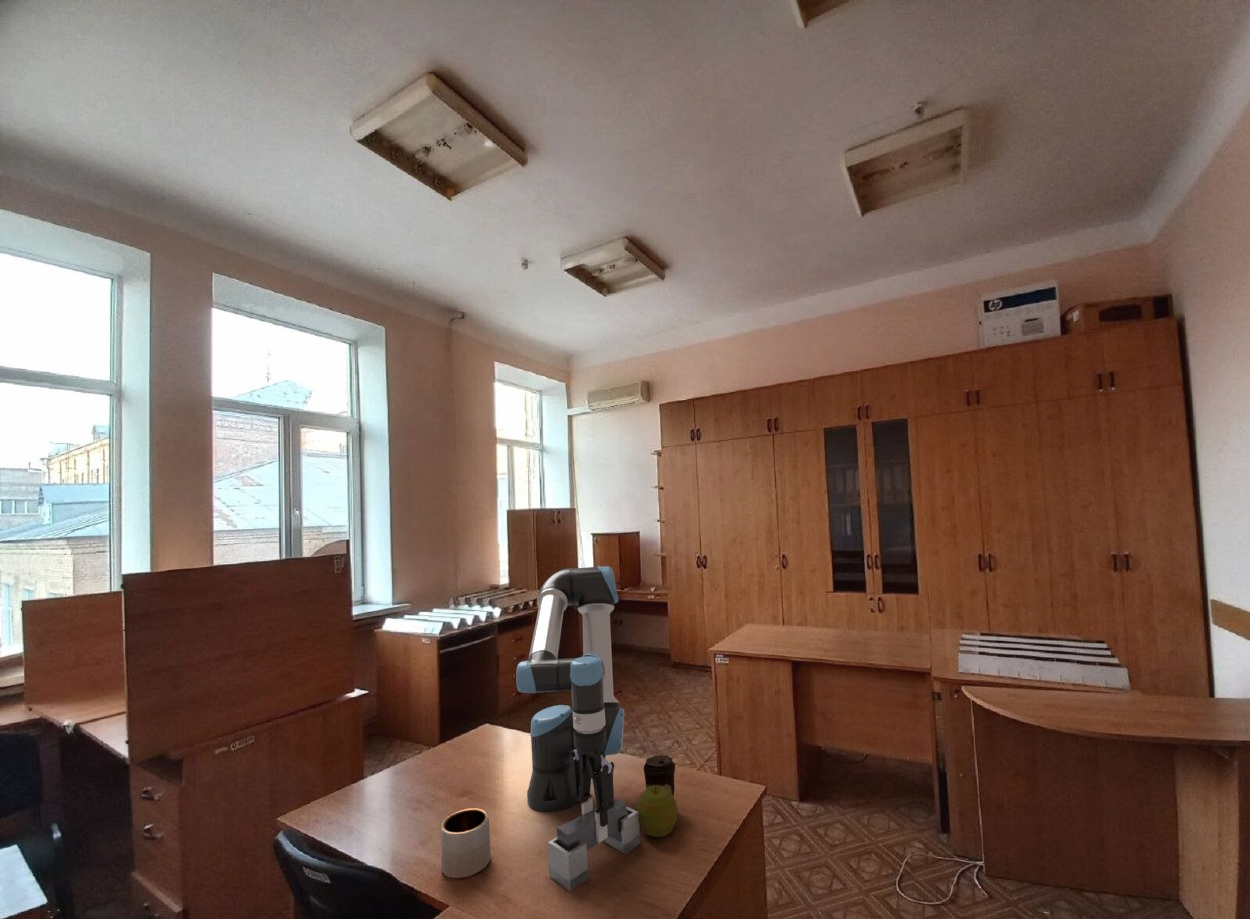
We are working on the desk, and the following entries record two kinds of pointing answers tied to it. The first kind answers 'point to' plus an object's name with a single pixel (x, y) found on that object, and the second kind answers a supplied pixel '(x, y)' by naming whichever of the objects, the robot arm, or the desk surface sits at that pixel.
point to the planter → (465, 842)
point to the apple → (657, 811)
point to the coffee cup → (660, 772)
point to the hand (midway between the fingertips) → (595, 835)
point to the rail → (589, 828)
